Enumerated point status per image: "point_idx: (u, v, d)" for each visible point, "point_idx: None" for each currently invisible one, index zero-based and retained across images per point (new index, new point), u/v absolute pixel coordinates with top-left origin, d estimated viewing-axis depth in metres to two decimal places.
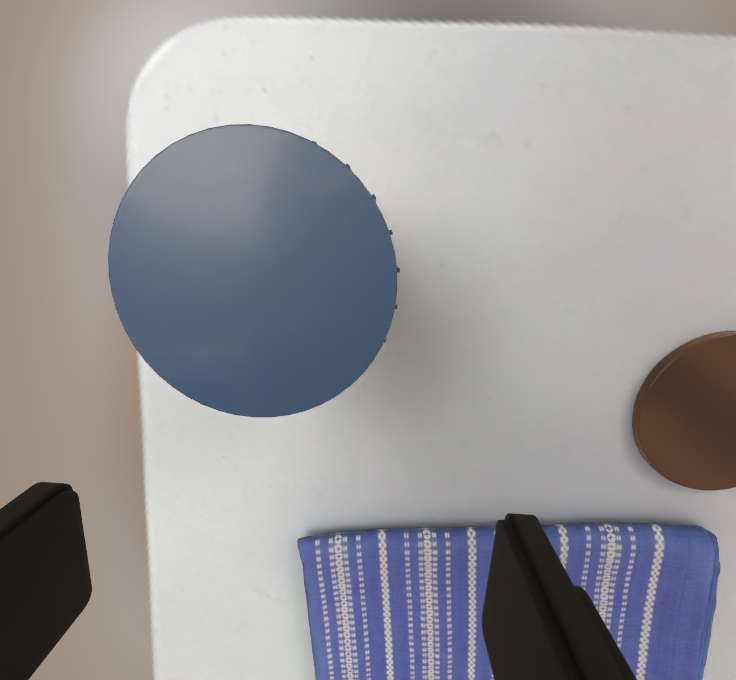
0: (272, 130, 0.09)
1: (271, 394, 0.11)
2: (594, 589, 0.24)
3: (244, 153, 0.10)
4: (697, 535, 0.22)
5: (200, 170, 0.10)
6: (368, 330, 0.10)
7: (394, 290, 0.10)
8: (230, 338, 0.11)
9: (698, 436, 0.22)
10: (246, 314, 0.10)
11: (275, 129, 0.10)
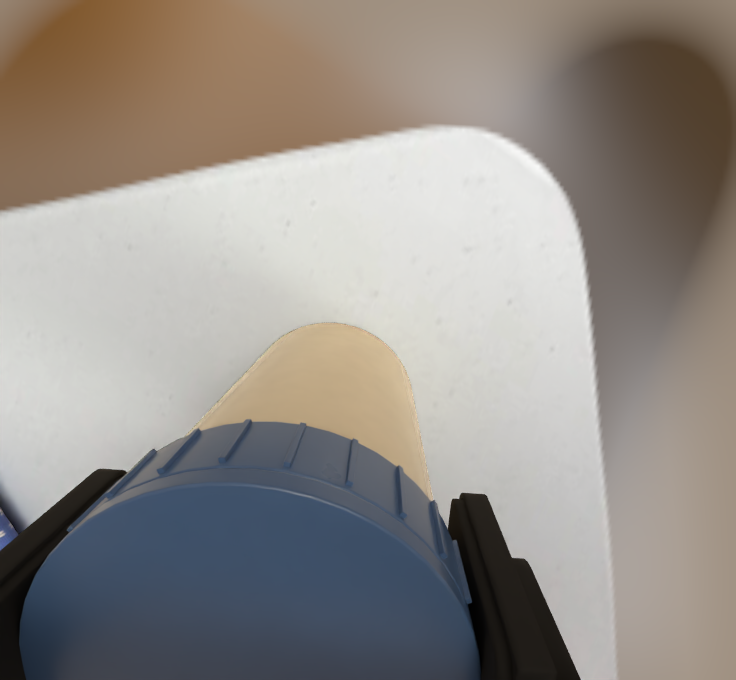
0: None
1: None
2: None
3: (436, 656, 0.06)
4: None
5: (396, 604, 0.06)
6: None
7: None
8: (149, 669, 0.06)
9: None
10: None
11: (479, 671, 0.06)
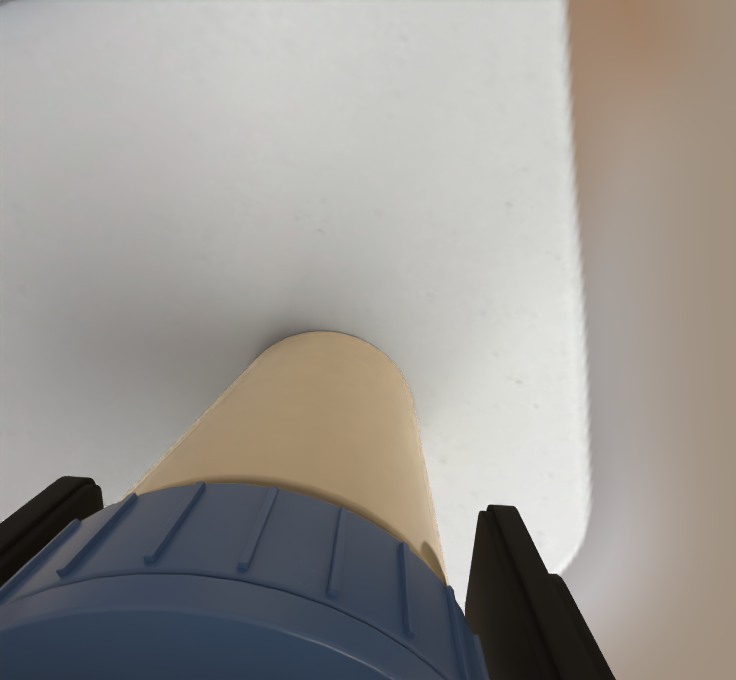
0: None
1: None
2: None
3: None
4: None
5: None
6: None
7: None
8: None
9: None
10: None
11: None
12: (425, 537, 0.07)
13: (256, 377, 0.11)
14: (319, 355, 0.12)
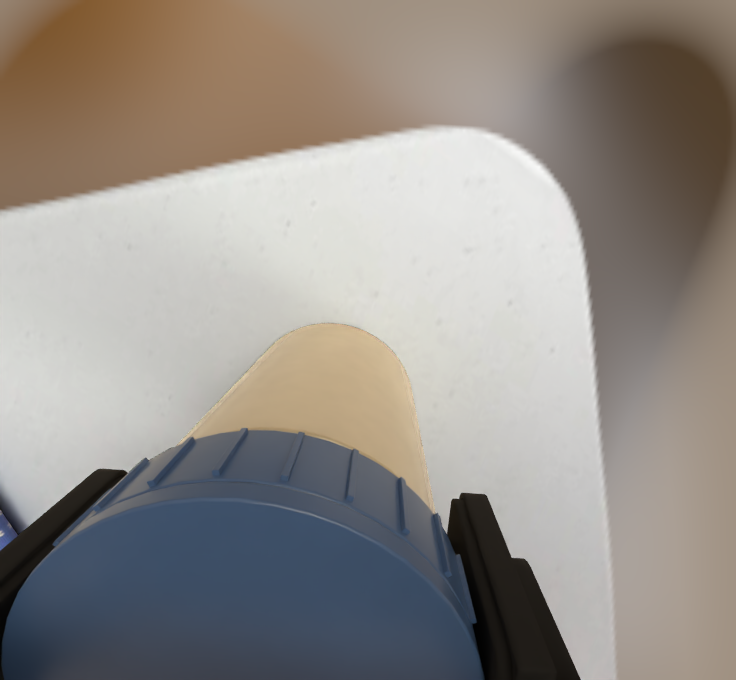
0: (207, 502, 0.05)
1: None
2: None
3: (171, 544, 0.05)
4: None
5: (108, 580, 0.06)
6: None
7: (480, 678, 0.06)
8: None
9: None
10: None
11: (212, 490, 0.05)
12: (192, 435, 0.08)
13: None
14: None
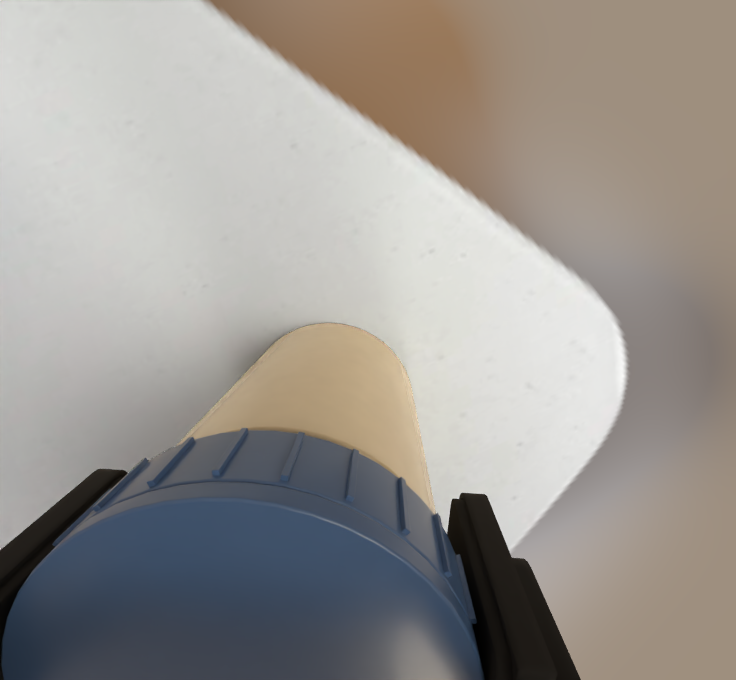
0: (207, 502, 0.05)
1: None
2: None
3: (171, 544, 0.05)
4: None
5: (108, 580, 0.06)
6: None
7: (480, 678, 0.06)
8: None
9: None
10: None
11: (212, 490, 0.05)
12: (313, 416, 0.08)
13: None
14: (253, 364, 0.14)
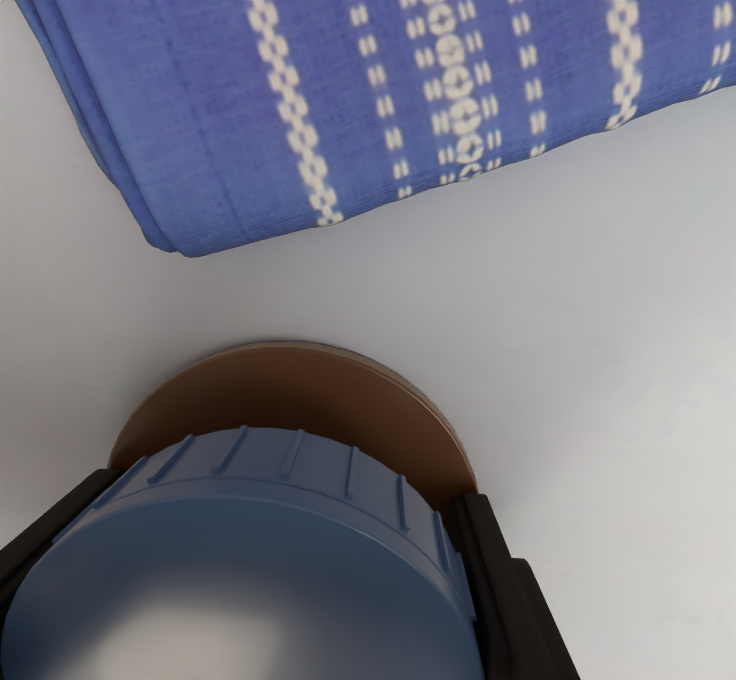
0: (207, 499, 0.05)
1: None
2: None
3: (171, 541, 0.05)
4: (215, 242, 0.07)
5: (108, 578, 0.06)
6: None
7: (480, 675, 0.06)
8: None
9: None
10: None
11: (212, 487, 0.05)
12: None
13: None
14: None
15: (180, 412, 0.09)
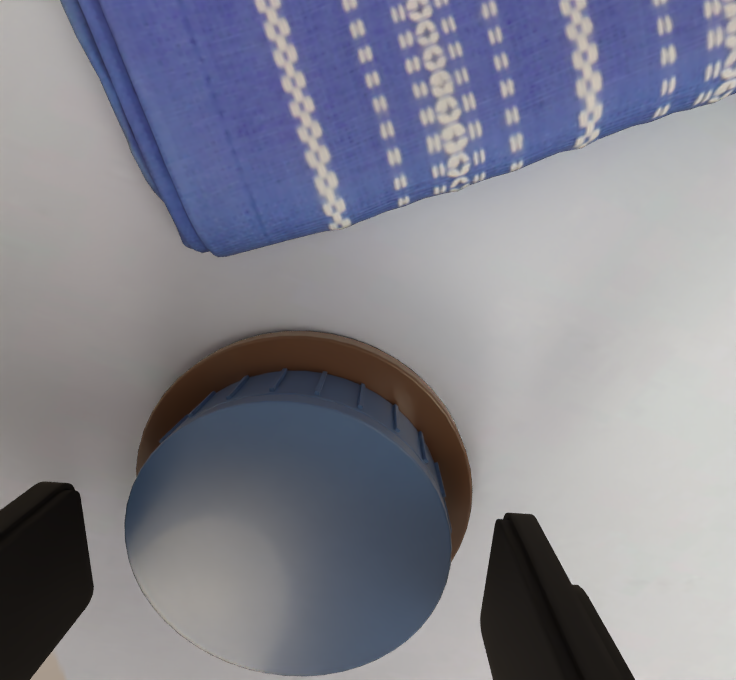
0: (269, 404, 0.08)
1: (336, 651, 0.10)
2: None
3: (245, 433, 0.08)
4: (241, 243, 0.08)
5: (202, 459, 0.09)
6: (427, 573, 0.09)
7: (446, 528, 0.09)
8: (278, 608, 0.09)
9: None
10: (289, 583, 0.09)
11: (271, 397, 0.08)
12: None
13: None
14: None
15: (206, 393, 0.10)
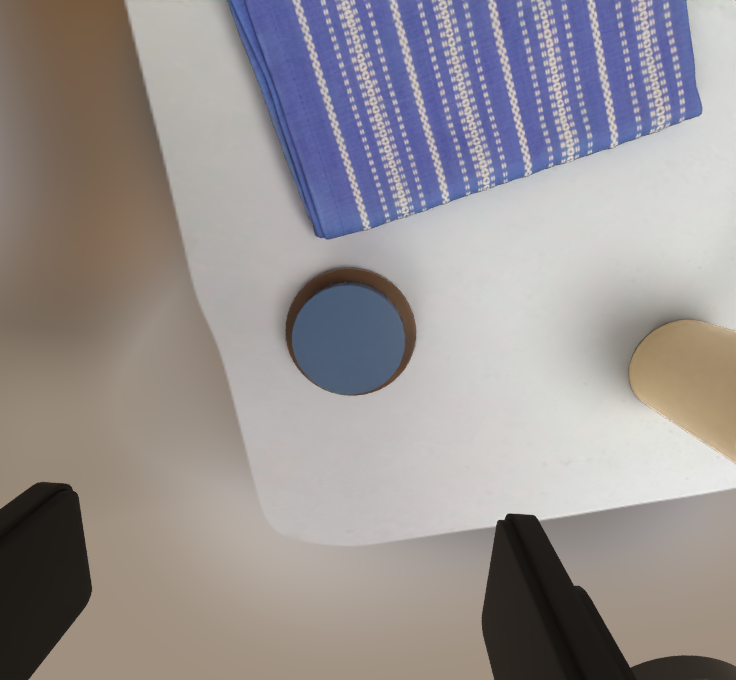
0: (344, 286, 0.25)
1: (364, 382, 0.27)
2: (396, 145, 0.24)
3: (336, 296, 0.26)
4: (335, 234, 0.26)
5: (321, 306, 0.26)
6: (396, 349, 0.26)
7: (403, 331, 0.26)
8: (344, 364, 0.27)
9: None
10: (348, 354, 0.26)
11: (345, 284, 0.26)
12: None
13: (722, 337, 0.24)
14: (728, 329, 0.25)
15: (315, 291, 0.27)
